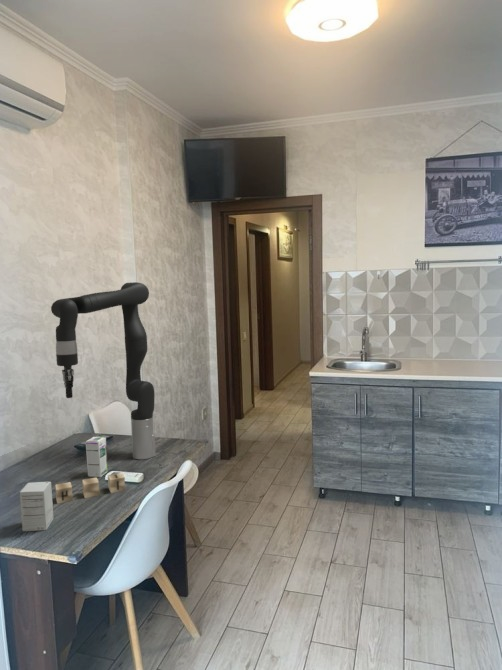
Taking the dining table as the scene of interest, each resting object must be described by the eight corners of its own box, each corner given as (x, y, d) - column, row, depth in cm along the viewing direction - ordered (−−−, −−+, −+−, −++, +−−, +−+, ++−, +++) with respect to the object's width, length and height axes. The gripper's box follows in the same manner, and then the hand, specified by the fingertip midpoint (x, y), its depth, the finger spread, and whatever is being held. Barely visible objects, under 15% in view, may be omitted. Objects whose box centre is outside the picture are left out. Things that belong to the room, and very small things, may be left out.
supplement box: (30, 520, 155) (27, 482, 154) (54, 518, 156) (52, 480, 154) (21, 531, 148) (18, 491, 146) (46, 530, 148) (44, 490, 147)
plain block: (97, 490, 177) (96, 477, 177) (99, 495, 173) (98, 482, 172) (82, 493, 175) (82, 479, 174) (84, 498, 170) (84, 484, 170)
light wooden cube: (71, 495, 173) (70, 481, 173) (72, 501, 169) (71, 487, 168) (56, 498, 171) (55, 484, 171) (57, 504, 166) (56, 490, 166)
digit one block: (122, 485, 181) (121, 472, 180) (125, 490, 176) (124, 477, 176) (108, 488, 179) (107, 474, 178) (111, 493, 174) (110, 479, 174)
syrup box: (101, 477, 189) (99, 441, 187) (87, 476, 190) (85, 440, 188) (108, 472, 194) (106, 436, 193) (94, 471, 195) (92, 436, 194)
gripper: (79, 353, 179) (81, 400, 181) (75, 349, 191) (77, 393, 192) (57, 355, 176) (60, 402, 177) (54, 351, 187) (57, 395, 189)
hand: (69, 397), depth 185 cm, fingers closed
